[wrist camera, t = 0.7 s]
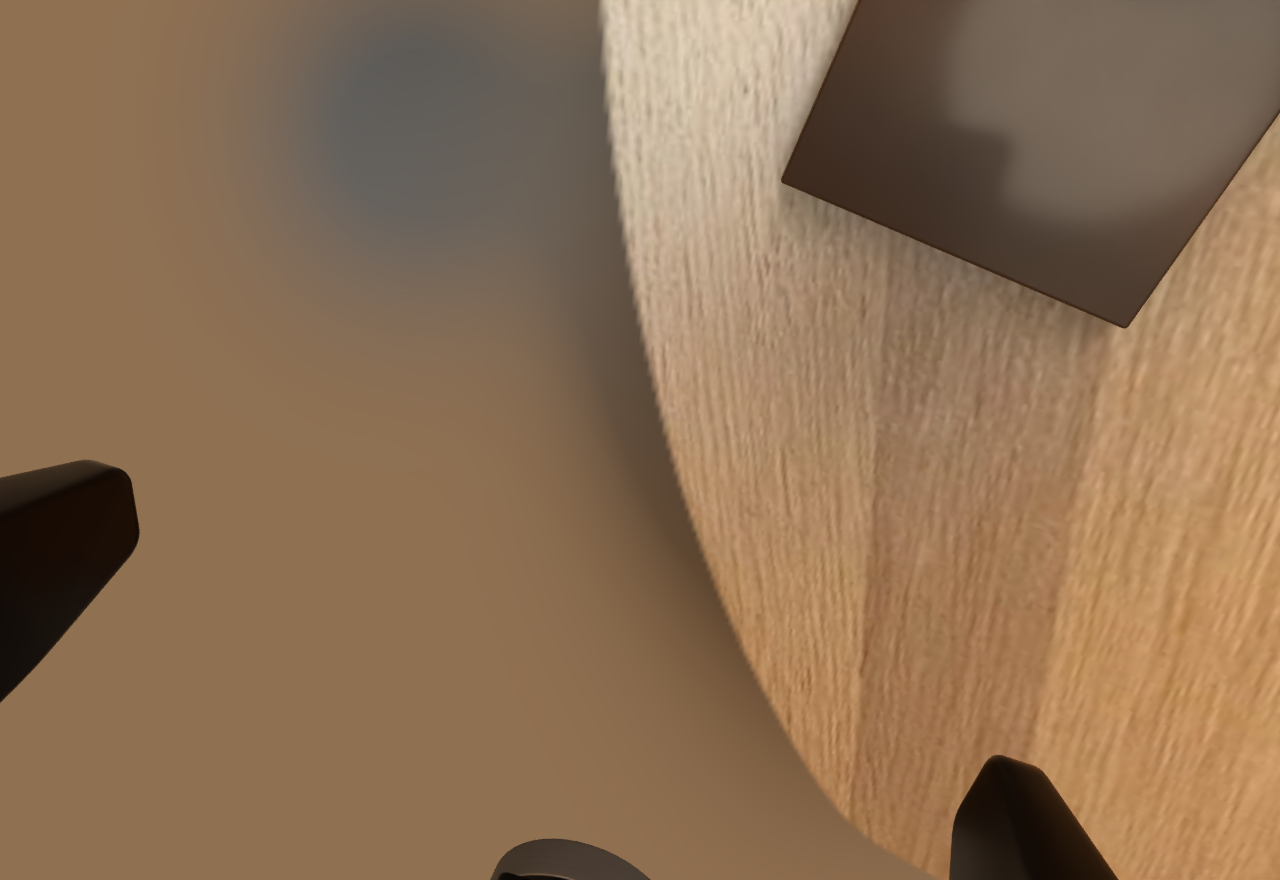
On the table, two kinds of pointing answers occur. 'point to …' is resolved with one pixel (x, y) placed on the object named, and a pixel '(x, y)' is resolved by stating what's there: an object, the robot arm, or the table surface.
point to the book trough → (1044, 132)
